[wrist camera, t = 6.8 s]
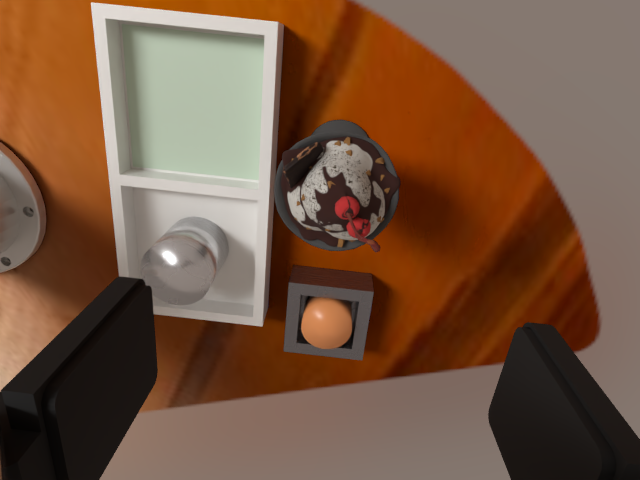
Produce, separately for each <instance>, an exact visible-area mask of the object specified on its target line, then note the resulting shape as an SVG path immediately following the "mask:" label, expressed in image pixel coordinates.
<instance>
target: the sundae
mask: <svg viewBox="0 0 640 480" xmlns="http://www.w3.org/2000/svg"><path fill="white" fill-rule="evenodd" d="M399 186H400V179H399V177H398V176H397V174H396V171H395V169H394V166H393V164H392V162H391V160H390V158H389V156H388V154H387V153H386V152H385V151H384V150H383V148H382V147H381V146H380V145H379V144H377V143H376V142H375V141H374V140H372V139H370V138H369V137H368V136H367V134H366V132H365V131H364V130H363V129H362V128H361V127H359V126H358V125H356V124H355V123H352V122H350V121H346V120H333V121H328V122H326V123H324V124H322V125H321V126H319V127H318V128H317V129H316V130H315V131H314V132H313V133H312V135H311V136H309V137H307V138H305V139H303V140H301V141H299V142H298V143H296V144H295V145H294V146H293V147H291V148H290V149H289V150H287V151H284V152H283V154H282V161H281V163H280V165H279V167H278V170H277V174H276V177H275V184H274V196H275V203H276V207H277V211H278V213H279V215H280V217H281V218H282V220H283V222H284V223H285V225H286V226H287V227H288V228H289V229H290V230H291V231H292V232H293V233H294V234H295V235H297V236H298V237H299V238H301V239H302V240H304V241H305V242H307V243H309V244H310V245H313V246H315V247H318V248H321V249H325V250H329V251H344V250H350V249H355V248H357V247H359V246H361V245H364V244H365V243H367V244H369V245H371V248H372V249H373V250H374V251H375V252H378V251H380V246H379V245H378V243H377V242H376V241H374V240H372V239H374V238H375V237H376V236H377V235H378V234H379V233H380V232H381V231H382V230H383V229H384V228H385V227H386V226H387V225H388V223H389V222H390V220H391V219H392V217H393V215H394V213H395V210H396V207H397V204H398V200H399Z"/></svg>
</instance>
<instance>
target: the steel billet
mask: <svg viewBox="0 0 640 480" xmlns="http://www.w3.org/2000/svg"><path fill="white" fill-rule="evenodd" d="M228 253H229V245H228V240H227V238H226V236H225V234H224V232H223V231H222V230H221V228H220V227H219V226H217V225H216V224H215V223H214V222H212V221H210V220H208V219H206V218H202V217H195V216H192V217H186V218H183V219H181V220H179V221H177V222H176V223H175V224H174V225H173V226H172V227H171V228H170V229H169V230H168V231H167V232H166V233H165V234H164V235H163V236H162V237H161V238H160V239H159V240H158V241H157V242H156V243H155V244H154V245H153V246H152V247H151V248H150V249H149V250H148V251H147V252H146V253H145V254H144V256H143V258H142V260H141V265H140V272H141V277H142V279H143V280H144V282H145V285H149V286H151V289H152V294H153V295H154V296H155V297H157V298H158V299H160V300H162V301H164V302H166V303H169V304H173V305H189V304H193V303H195V302H197V301H199V300H201V299H202V298H203V297H204V296H205V295H206V293H207V292H208V290H209V288H210V287H211V285H212V283H213V281H214V280H215V278H216V276H217V275H218V273H219V271H220V269H221V268H222V266H223V264H224V263H225V261H226V259H227V257H228Z"/></svg>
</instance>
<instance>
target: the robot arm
mask: <svg viewBox="0 0 640 480" xmlns="http://www.w3.org/2000/svg"><path fill="white" fill-rule="evenodd" d="M45 230H46V211H45V205H44V201H43V198H42V195H41V192H40V190H39V188H38V186H37V184H36V182H35V180H34V178H33V176H32V175H31V173H30V172H29V171H28V169H27V168H26V166H25V165H24V164H23V162H22V161H21V160H20V159H19V158H18V157H17V156H16V155H15V154H14V153H13V152H12V151H11V150H10V149H8V148H7V147H6V146H5V145H3V144H2V143H1V142H0V272H5V271H8V270H11V269H13V268H16V267H17V266H19V265H20V264H22V263H24V262H25V261H27V260H28V259H29V258H30V257H31V256H32V255H33V254H35V253H36V251H37V250H38V248H39V246H40V245H41V243H42V240H43V237H44V235H45ZM156 378H157V356H156V342H155V327H154V313H153V298H152V289H151V286H149V285H145V282H144V280H143V279H139V278H130V277H117V278H116V279H115V280H114V281H113V282H112V283H111V284H110V285H109V286H108V287H107V288H106V289H105V290H104V291H102V292H101V293H100V294H99V295H98V296H97V297H96V298H95V299H94V300H93V301H92V302H91V303H90V304H89V305H88V306H87V307H86V308H85V309H84V310H83V311H82V312H81V313H80V314H79V315H78V316H77V317H76V318H75V319H74V320H73V321H72V322H71V323H70V324H69V325H68V326H67V327H66V328H65V329H63V330H62V331H61V332H60V333H59V334H58V335H57V336H56V337H55V338H54V339H53V340H52V341H51V342H50V343H49V344H48V345H47V346H46V347H45V348H44V349H43V350H42V351H41V352H40V353H39V354H38V355H37V356H36V357H35V358H34V359H33V360H32V361H31V362H30V363H29V364H28V365H27V366H26V367H24V368H23V369H22V370H21V371H20V372H19V373H18V374H17V375H16V376H15V377H14V378H13V379H12V380H11V381H10V382H9V383H8V384H7V385H6V386H5V387H4V388H3V389H2V390H1V392H0V480H99V479H100V477H101V476H102V474H103V472H104V470H105V469H106V467H107V465H108V464H109V462H110V460H111V458H112V457H113V455H114V453H115V452H116V450H117V448H118V446H119V445H120V443H121V441H122V439H123V437H124V436H125V434H126V432H127V431H128V429H129V427H130V426H131V424H132V422H133V421H134V419H135V417H136V415H137V414H138V412H139V410H140V408H141V407H142V405H143V403H144V402H145V400H146V398H147V396H148V395H149V393H150V391H151V390H152V388H153V386H154V384H155V381H156ZM489 423H490V426H491V429H492V431H493V434H494V437H495V439H496V442H497V444H498V447H499V450H500V452H501V455H502V457H503V460H504V462H505V465H506V468H507V470H508V473H509V475H510V478H511V480H640V439H639V438H638V437H637V435H636V434H635V433H634V431H633V430H632V429H631V427H630V426H629V425H628V423H627V422H626V421H625V419H624V418H623V417H622V416H621V414H620V413H619V412H618V410H617V409H616V408H615V406H614V405H613V404H612V402H611V401H610V400H609V398H608V397H607V396H606V394H605V393H604V392H603V391H602V389H601V388H600V387H599V385H598V384H597V383H596V381H595V380H594V379H593V377H592V376H591V375H590V374H589V372H588V371H587V369H586V368H585V367H584V366H583V364H582V363H581V362H580V360H579V359H578V358H577V356H576V355H575V354H574V352H573V351H572V350H571V348H570V347H569V346H568V345H567V343H566V342H565V341H564V339H563V338H562V337H561V335H560V334H559V333H558V331H557V330H556V329H555V328H554V327H553V326H552V325H546V324H537V323H529V322H528V323H525V324H524V326H523V327H522V328H521V327H519V328H517V329H516V331H515V333H514V336H513V339H512V342H511V345H510V348H509V351H508V354H507V357H506V360H505V363H504V366H503V369H502V372H501V375H500V378H499V381H498V384H497V387H496V390H495V393H494V396H493V399H492V402H491V405H490V408H489Z"/></svg>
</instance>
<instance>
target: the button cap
mask: <svg viewBox="0 0 640 480" xmlns="http://www.w3.org/2000/svg"><path fill="white" fill-rule="evenodd" d="M301 330H302V334H303V336H304V338H305V339H306V340H307V341H308V342H309V343H310V344H311V345H313V346H315V347H317V348H321V349H334V348H337V347H340V346H342V345H343V344H344V343H346V342H347V341H348V339H349V338H350V336H351V333H352V310H351V306H350V303H349V302H348V300H341V299H332V298H323V297H314V296H311V297H310V298H309V299H308V300H307V302H306V303H305V306H304V312H303V318H302V324H301Z"/></svg>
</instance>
